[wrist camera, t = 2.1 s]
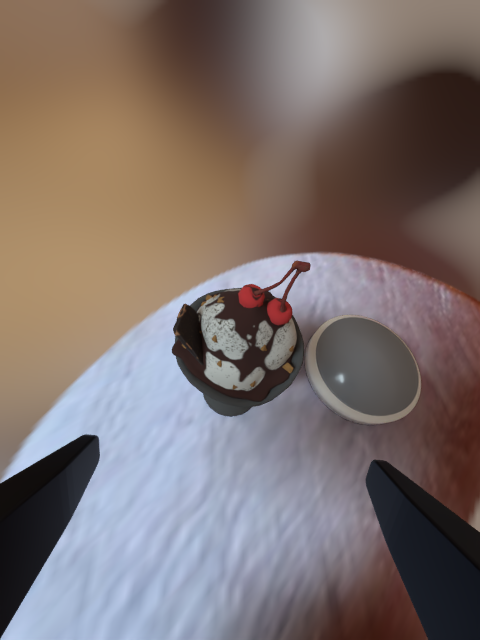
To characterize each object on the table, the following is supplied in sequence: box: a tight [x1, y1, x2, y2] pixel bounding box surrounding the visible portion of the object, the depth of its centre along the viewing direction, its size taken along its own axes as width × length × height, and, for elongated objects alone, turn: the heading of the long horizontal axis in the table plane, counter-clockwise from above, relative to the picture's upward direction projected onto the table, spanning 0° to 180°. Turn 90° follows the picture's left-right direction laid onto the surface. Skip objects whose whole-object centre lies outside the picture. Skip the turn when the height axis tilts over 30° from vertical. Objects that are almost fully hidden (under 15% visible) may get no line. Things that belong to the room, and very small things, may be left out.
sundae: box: [172, 261, 310, 417], centre depth 15 cm, size 7×7×15 cm
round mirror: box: [305, 315, 421, 425], centre depth 22 cm, size 10×10×2 cm
